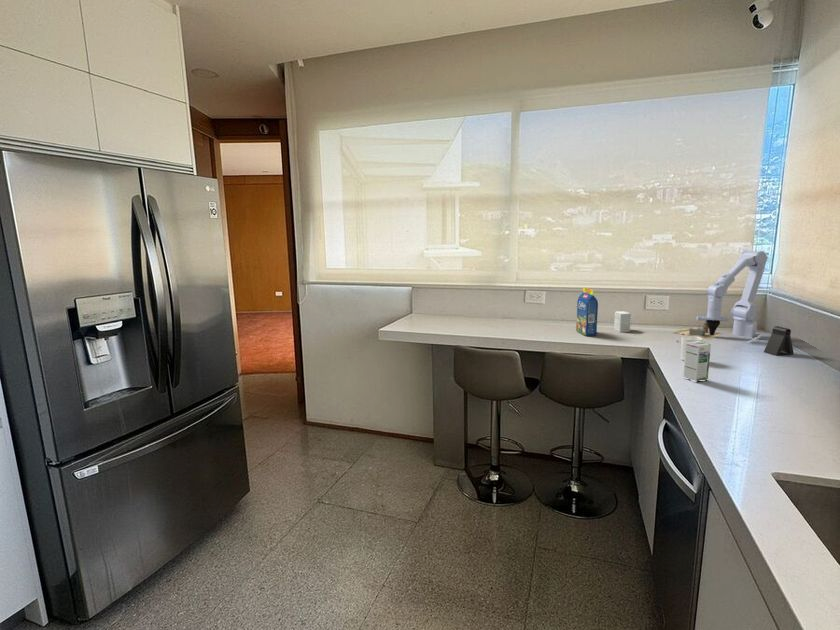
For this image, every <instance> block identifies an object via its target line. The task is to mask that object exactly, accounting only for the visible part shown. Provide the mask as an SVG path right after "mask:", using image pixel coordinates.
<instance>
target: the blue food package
mask: <svg viewBox="0 0 840 630" xmlns="http://www.w3.org/2000/svg"><path fill="white" fill-rule="evenodd" d="M597 299H598V298H596V296H595V295H594V290H593V289H591V288H587V287H583V288H582V292H581V293H580V295H579V296H578V297H577V303H576V304H577V305H576V324H575V325H576V327H575V329H576V330H575V331H576V332H577V333H578V334H581V335H583V336H586V337H592V336H593V337H594V336H595V337H596V336H597V331H598V329H597V328H598V311H599V303H598V300H597Z"/></svg>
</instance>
